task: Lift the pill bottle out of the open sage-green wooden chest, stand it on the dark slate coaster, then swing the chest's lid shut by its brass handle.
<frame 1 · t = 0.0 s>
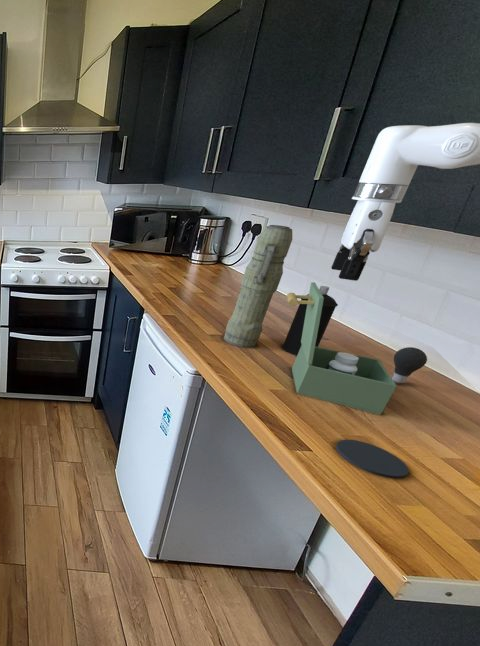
hand: (343, 274, 89), 28 cm above the worktop, tool pointing down, fingers open, 9 cm apart
aerosol can: (297, 351, 119), on the worktop
light bulb: (396, 383, 103), on the worktop
chest lid: (298, 321, 98), point 16 cm above the worktop, hinge at 100.0°
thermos: (239, 342, 124), on the worktop
coaster: (370, 459, 76), on the worktop
chest: (331, 389, 99), on the worktop
pill bottle: (332, 388, 99), resting on chest
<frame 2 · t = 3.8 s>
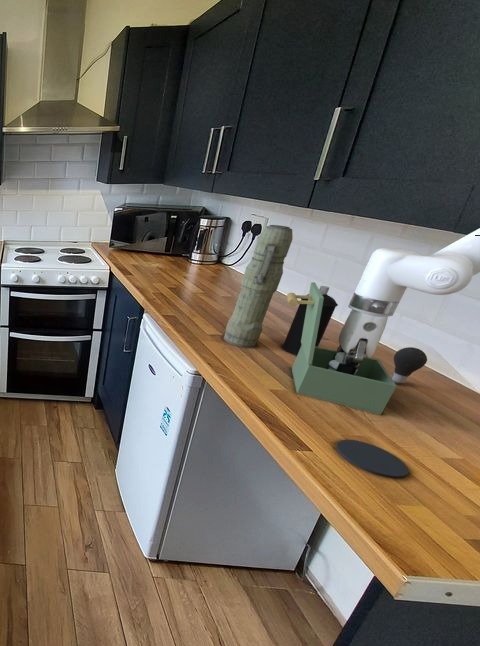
hand: (339, 374, 97), 4 cm above the worktop, tool pointing down, fingers closed on pill bottle, 5 cm apart
pill bottle: (332, 388, 99), resting on chest, touching gripper
everything else where it was.
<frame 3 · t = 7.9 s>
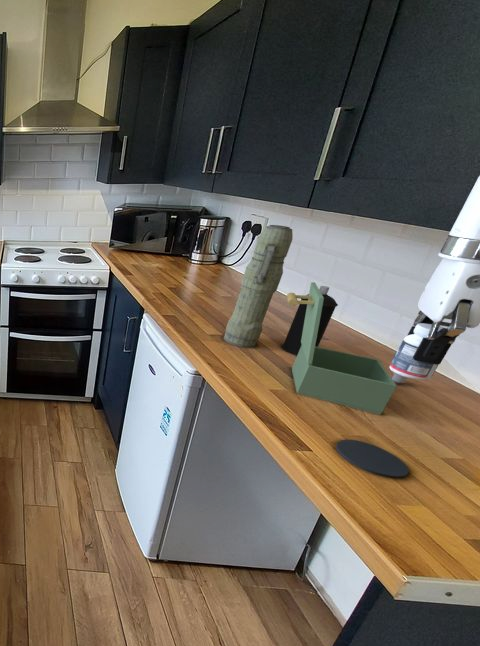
hand: (420, 354, 69), 21 cm above the worktop, tool pointing down, fingers closed on pill bottle, 5 cm apart
pill bottle: (408, 374, 71), point 17 cm above the worktop, touching gripper
everything else where it was.
when the fingers open (4 cm above the worktop, at t = 12.1 s): pill bottle stays where it is, resting on coaster.
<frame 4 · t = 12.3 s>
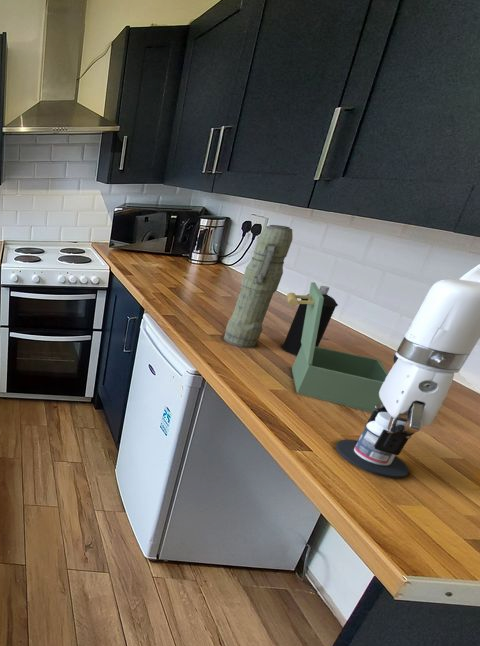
hand: (380, 440, 74), 5 cm above the worktop, tool pointing down, fingers open, 6 cm apart
pill bottle: (370, 457, 75), resting on coaster
everything else where it was.
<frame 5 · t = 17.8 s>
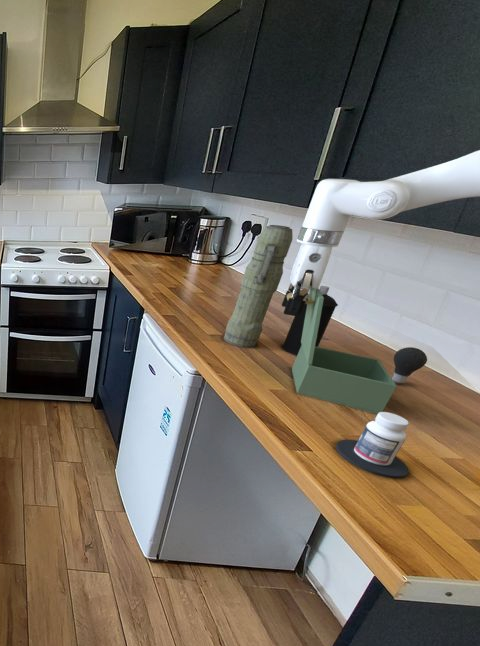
hand: (290, 310, 98), 18 cm above the worktop, tool pointing down, fingers closed on chest lid, 6 cm apart
chest lid: (298, 321, 98), point 16 cm above the worktop, hinge at 100.0°, touching gripper
everything else where it was.
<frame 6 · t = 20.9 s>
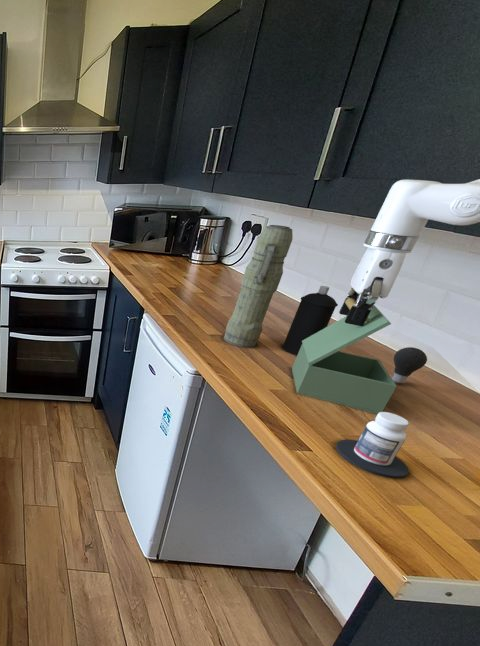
hand: (350, 318, 93), 18 cm above the worktop, tool pointing down, fingers closed on chest lid, 6 cm apart
chest lid: (333, 325, 95), point 16 cm above the worktop, hinge at 53.9°, touching gripper
everything else where it was.
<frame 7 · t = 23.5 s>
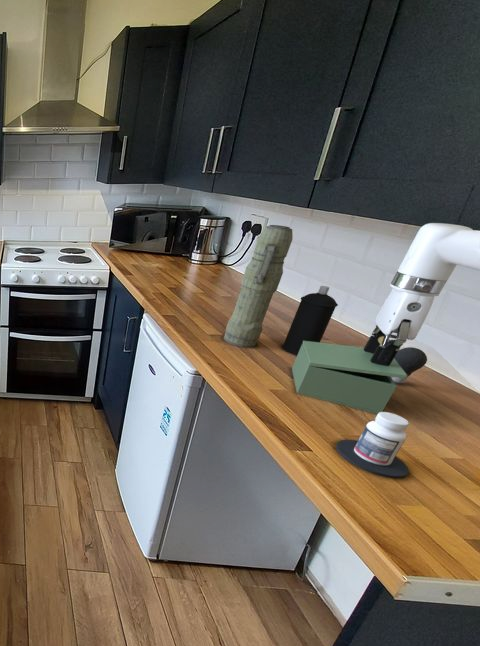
hand: (375, 357, 92), 10 cm above the worktop, tool pointing down, fingers closed on chest lid, 6 cm apart
chest lid: (351, 348, 94), point 11 cm above the worktop, hinge at 7.3°, touching gripper
everything else where it was.
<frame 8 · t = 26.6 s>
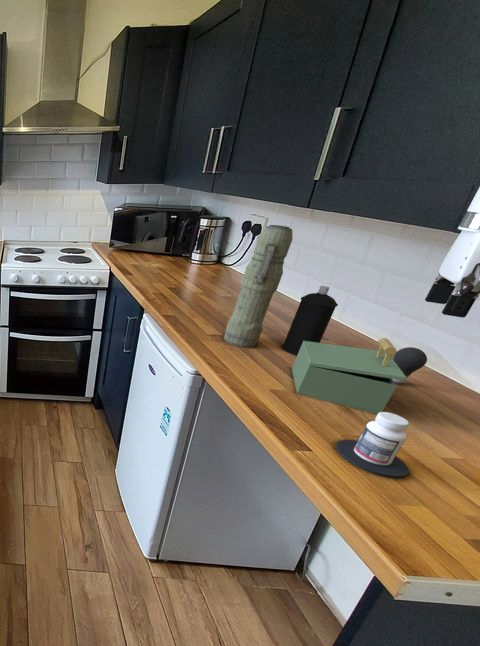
hand: (443, 308, 83), 24 cm above the worktop, tool pointing down, fingers open, 9 cm apart
chest lid: (352, 349, 94), point 11 cm above the worktop, hinge at 5.5°
everything else where it was.
at the end: pill bottle 0.0 cm off-centre on the coaster, point 0.4 cm above the coaster's base; pill bottle tilted 0°; chest lid at +6° (first picture: +100°) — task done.
